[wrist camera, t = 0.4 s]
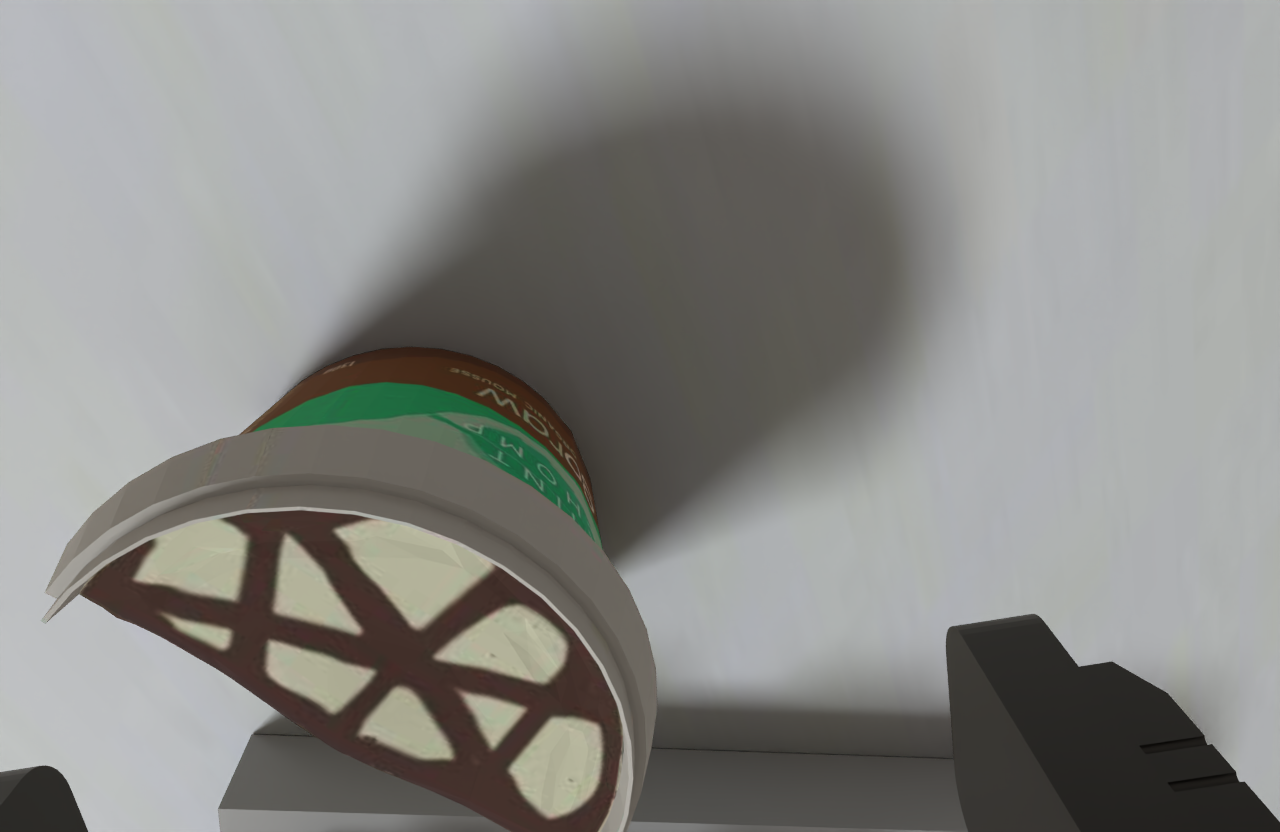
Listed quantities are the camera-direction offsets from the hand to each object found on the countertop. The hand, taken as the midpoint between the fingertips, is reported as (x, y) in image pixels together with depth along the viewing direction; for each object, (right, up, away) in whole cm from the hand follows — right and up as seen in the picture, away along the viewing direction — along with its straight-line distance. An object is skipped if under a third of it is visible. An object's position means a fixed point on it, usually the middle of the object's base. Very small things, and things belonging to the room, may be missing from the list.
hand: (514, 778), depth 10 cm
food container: (-3, +3, +18) cm, 19 cm away
